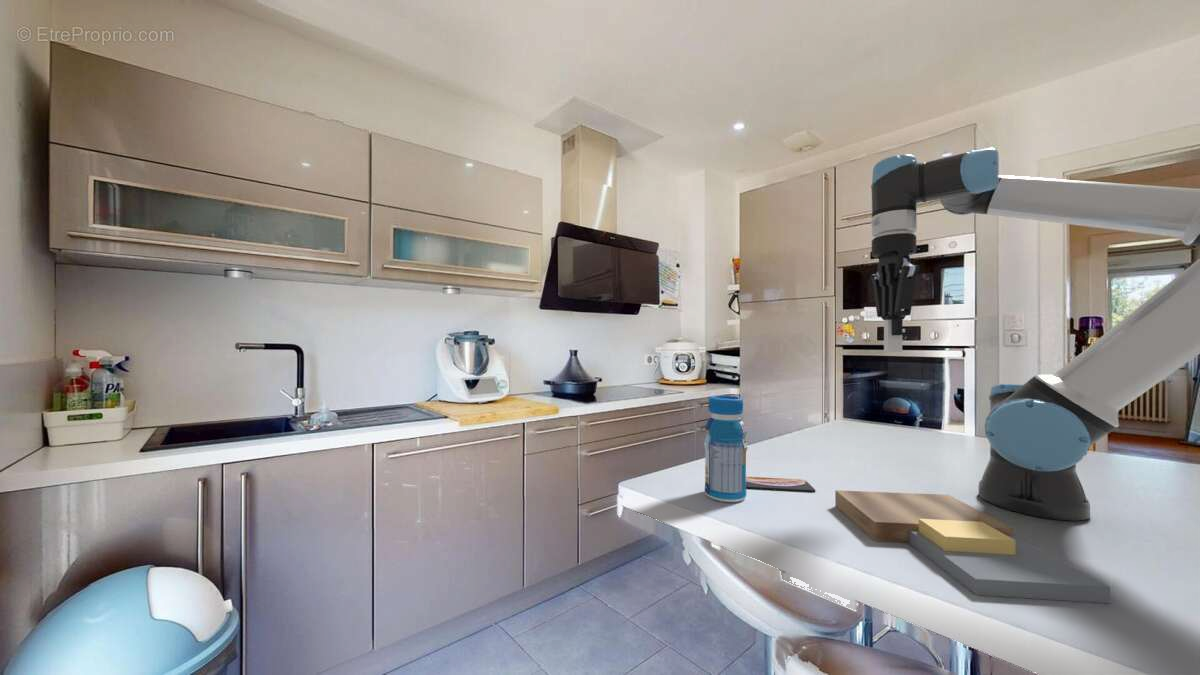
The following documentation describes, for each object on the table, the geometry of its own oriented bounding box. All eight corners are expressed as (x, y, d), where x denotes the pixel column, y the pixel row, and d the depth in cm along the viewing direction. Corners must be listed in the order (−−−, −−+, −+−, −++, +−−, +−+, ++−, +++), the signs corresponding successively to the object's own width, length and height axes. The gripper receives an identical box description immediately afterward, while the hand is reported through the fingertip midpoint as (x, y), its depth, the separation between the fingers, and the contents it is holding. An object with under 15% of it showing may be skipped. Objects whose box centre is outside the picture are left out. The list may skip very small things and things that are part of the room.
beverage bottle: (721, 506, 81) (722, 401, 81) (695, 491, 89) (695, 395, 89) (756, 500, 84) (756, 399, 84) (728, 486, 92) (728, 393, 92)
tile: (982, 534, 65) (982, 521, 65) (1015, 554, 59) (1015, 540, 59) (918, 531, 66) (918, 518, 66) (945, 550, 60) (945, 536, 60)
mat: (1014, 548, 65) (1014, 535, 65) (1109, 603, 52) (1109, 586, 52) (909, 543, 67) (909, 530, 67) (975, 594, 53) (975, 578, 53)
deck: (948, 510, 79) (948, 494, 79) (1013, 547, 65) (1013, 528, 65) (835, 506, 81) (835, 490, 81) (874, 540, 67) (874, 521, 67)
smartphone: (736, 475, 98) (805, 479, 96) (736, 479, 98) (805, 483, 96) (742, 486, 91) (817, 490, 88) (742, 490, 91) (817, 494, 88)
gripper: (858, 243, 94) (857, 350, 94) (892, 228, 81) (891, 352, 81) (894, 242, 93) (893, 350, 93) (934, 227, 80) (934, 353, 80)
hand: (893, 351), depth 87 cm, fingers closed
